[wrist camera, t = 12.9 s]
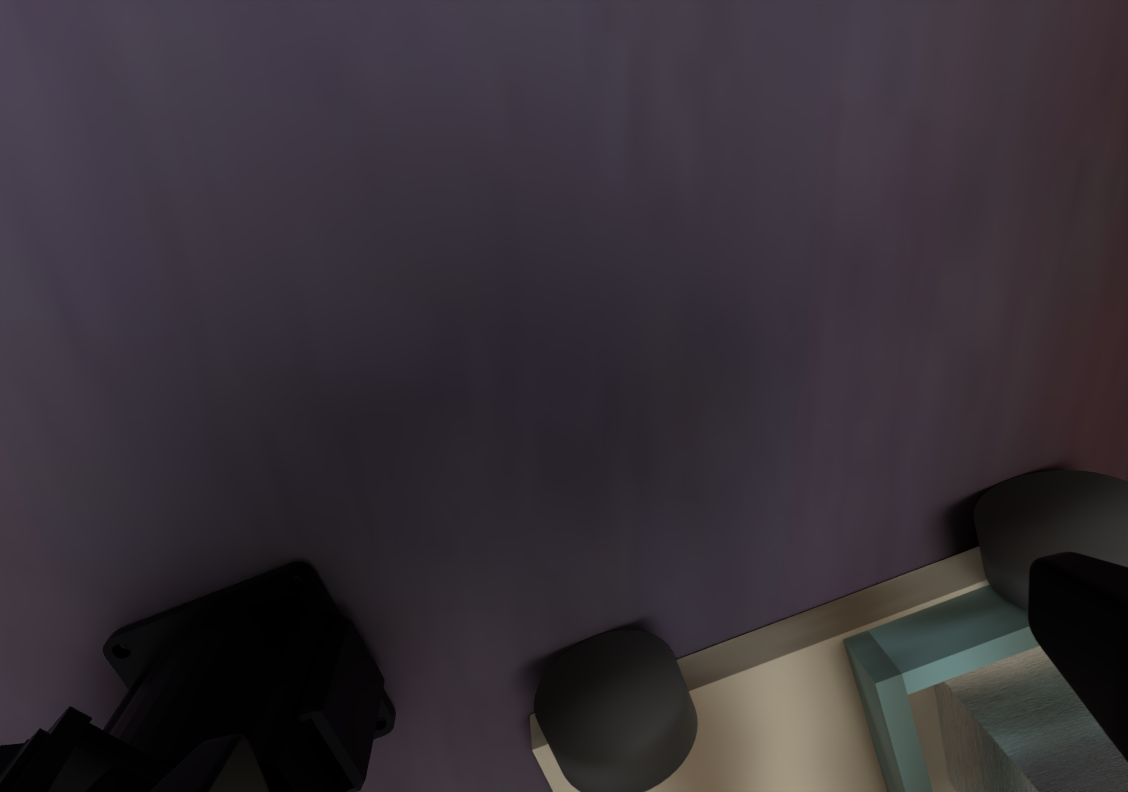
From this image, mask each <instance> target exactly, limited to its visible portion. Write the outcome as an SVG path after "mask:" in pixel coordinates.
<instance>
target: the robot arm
mask: <svg viewBox="0 0 1128 792" xmlns="http://www.w3.org/2000/svg"><path fill="white" fill-rule="evenodd" d="M296 576H297V577H300V578H302V579H303V580H304V581H305V583H304V584H296V583H294V582H293V581H292V580H291V577H296ZM1028 622H1029V627H1030V630H1031V632H1032V634H1033V636H1034V638H1035V640H1036V641H1037V643H1038V644H1039V646H1040V647H1041V648H1042V650H1043V651H1044V652H1045V654H1046V655H1047V656H1048V658H1049V659H1050V660H1051V662H1052V663H1053V664H1054V666H1055V667H1056V669H1057V670H1058V671H1059V673H1060V674H1061V675H1062V677H1063V678H1064V679H1065V681H1066V682H1067V683H1068V685H1069V686H1070V687H1071V689H1072V690H1073V691H1074V693H1075V694H1076V695H1077V697H1078V698H1079V699H1080V701H1081V702H1082V703H1083V705H1084V706H1085V707H1086V709H1087V710H1088V711H1089V713H1090V714H1091V715H1092V717H1093V718H1094V719H1095V721H1096V722H1097V724H1098V725H1099V726H1100V728H1101V729H1102V730H1103V732H1104V733H1105V734H1106V736H1107V737H1108V738H1109V740H1110V741H1111V742H1112V743H1113V745H1114V746H1115V747H1116V749H1117V750H1118V751H1119V752H1120V754H1121V755H1122V756H1123V757H1124V759H1125V760H1126V761H1127V762H1128V567H1125V566H1122V565H1118V564H1115V563H1111V562H1108V561H1104V560H1101V559H1097V558H1094V557H1090V556H1087V555H1083V554H1079V553H1076V552H1062V553H1057V554H1053V555H1048V556H1043V557H1039V558H1037V559H1035V560H1034V561H1033V562H1032V564H1031V566H1030V569H1029V592H1028ZM119 644H124V645H126V646H128V647H129V648H130V650H126V649H123V648H122V647H121V646H120V645H119ZM103 653H104V655H105V657H106V659H107V660H108V661H109V663H110V664H111V666H112V667H113V668H114V670H115V671H116V672H117V674H118V675H119V677H120V678H121V679H122V681H123V682H124V683H125V685H126V686H127V688H128V689H129V691H128V693H127V694H126V696H125V697H124V699H123V700H122V702H121V703H120V705H119V706H118V708H117V709H116V711H115V712H114V714H113V715H112V717H111V718H110V720H109V721H108V723H107V724H106V726H105V727H104V729H103V730H101V729H100V728H98V727H96V726H94V725H92V724H90V721H91V719H92V718H91V717H89V716H87V715H86V714H84V713H82V712H80V711H78V710H76V709H75V708H73V707H71V706H69V708H68V709H67V710H66V711H65V712H64V713H63V714H62V715H61V717H60V718H59V719H58V720H57V721H56V722H55V723H54V725H53V726H52V727H51V728H50V729H49V730H48V731H47V732H46V731H44V730H43V729H41V728H40V729H39V730H38V731H37V732H36V733H35V734H34V735H33V736H32V737H31V738H30V740H27V741H26V742H25V743H22V744H12V745H1V746H0V792H357V791H360V790H361V788H362V785H363V783H364V781H365V779H366V774H367V769H368V764H369V759H370V754H371V749H372V744H373V740H374V739H376V738H379V737H382V736H384V735H386V734H388V733H390V732H391V730H392V729H393V728H394V723H395V717H396V712H395V709H394V707H393V705H392V704H391V702H390V700H389V698H388V697H387V695H386V693H385V691H384V690H383V687H384V677H383V676H382V674H381V672H380V670H379V669H378V667H377V665H376V663H375V662H374V660H373V658H372V656H371V655H370V653H369V651H368V649H367V648H366V646H365V644H364V642H363V641H362V639H361V637H360V635H359V634H358V632H357V630H356V628H355V627H354V625H353V623H352V621H351V620H350V619H348V618H346V617H344V616H342V615H340V613H339V611H338V610H337V608H336V606H335V604H334V603H333V601H332V599H331V597H330V596H329V594H328V592H327V590H326V589H325V587H324V585H323V583H322V582H321V580H320V578H319V576H318V575H317V573H316V571H315V570H314V569H313V568H312V566H310V565H308V564H306V563H303V562H294V563H290V564H288V565H285V566H282V567H280V568H277V569H275V570H272V571H269V572H267V573H264V574H262V575H259V576H256V577H254V578H251V579H249V580H246V581H243V582H241V583H238V584H236V585H233V586H230V587H228V588H225V589H223V590H220V591H217V592H215V593H212V594H210V595H207V596H204V597H202V598H199V599H197V600H194V601H191V602H189V603H186V604H184V605H181V606H178V607H176V608H173V609H171V610H168V611H165V612H163V613H160V614H158V615H155V616H152V617H150V618H147V619H145V620H142V621H139V622H137V623H134V624H132V625H129V626H126V627H124V628H121V629H119V630H117V631H115V632H114V633H113V634H112V635H111V636H110V638H109V639H108V640H107V641H106V643H105V645H104V646H103ZM378 717H381V718H384V719H385V720H382V721H378V720H377V718H378Z"/></svg>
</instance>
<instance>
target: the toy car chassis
mask: <svg viewBox="0 0 1128 792" xmlns="http://www.w3.org/2000/svg"><path fill="white" fill-rule="evenodd" d="M974 522H975V527H976V532H977V537H978V542H979V546H978V547H976V548H973V549H970V550H968V551H965V552H962V553H960V554H957V555H954V556H952V557H949V558H946V559H944V560H941V561H938V562H936V563H933V564H930V565H928V566H925V567H922V568H920V569H917V570H914V571H912V572H909V573H906V574H904V575H901V576H898V577H896V578H893V579H890V580H888V581H885V582H882V583H880V584H877V585H875V586H872V587H869V588H867V589H864V590H861V591H859V592H856V593H853V594H851V595H848V596H845V597H843V598H840V599H837V600H835V601H832V602H829V603H827V604H824V605H821V606H819V607H816V608H813V609H811V610H808V611H805V612H803V613H800V614H797V615H795V616H792V617H789V618H787V619H784V620H781V621H779V622H776V623H773V624H771V625H768V626H765V627H763V628H760V629H757V630H755V631H752V632H749V633H747V634H744V635H741V636H739V637H736V638H733V639H731V640H728V641H725V642H723V643H720V644H717V645H715V646H712V647H709V648H707V649H704V650H701V651H699V652H696V653H693V654H691V655H688V656H685V657H683V658H680V659H678V660H676V658H675V655H674V653H673V651H672V650H671V648H670V647H669V646H668V645H667V644H666V643H665V642H664V641H663V640H662V639H660V638H659V637H657V636H655V635H653V634H650V633H647V632H644V631H638V630H617V631H611V632H607V633H603V634H600V635H596V636H594V637H591V638H589V639H587V640H585V641H583V642H581V643H579V644H577V645H576V646H574V647H572V648H571V649H569V650H568V651H567V652H565V653H564V654H563V655H562V656H561V657H560V658H558V659H557V660H556V661H555V662H554V663H553V665H552V666H551V667H550V668H549V669H548V671H547V672H546V673H545V675H544V677H543V678H542V680H541V682H540V684H539V686H538V689H537V692H536V695H535V701H534V711H535V713H534V714H531V715H530V727H531V741H532V751H533V753H534V755H535V757H536V759H537V761H538V763H539V765H540V767H541V769H542V771H543V773H544V775H545V777H546V779H547V780H548V782H549V784H550V786H551V788H552V790H553V792H957V791H956V790H955V788H954V787H953V786H952V784H951V783H950V781H949V779H948V773H947V766H946V760H945V754H944V747H943V741H942V734H941V728H940V722H939V715H938V709H937V703H936V696H935V690H934V685H935V684H938V683H941V682H943V681H946V680H949V679H951V678H954V677H957V676H960V675H962V674H965V673H968V672H970V671H973V670H976V669H978V668H981V667H984V666H986V665H989V664H992V663H995V662H997V661H1000V660H1003V659H1005V658H1008V657H1011V656H1013V655H1016V654H1019V653H1022V652H1024V651H1027V650H1030V649H1032V648H1035V647H1038V646H1039V644H1038V643H1037V641H1036V640H1035V638H1034V636H1033V634H1032V632H1031V630H1030V627H1029V622H1028V592H1029V569H1030V566H1031V564H1032V562H1033V561H1034V560H1035V559H1037V558H1039V557H1043V556H1048V555H1053V554H1057V553H1062V552H1076V553H1079V554H1083V555H1087V556H1090V557H1094V558H1097V559H1101V560H1104V561H1108V562H1111V563H1115V564H1118V565H1122V566H1125V567H1128V482H1127V481H1124V480H1121V479H1119V478H1116V477H1112V476H1109V475H1105V474H1100V473H1094V472H1087V471H1074V470H1056V471H1044V472H1037V473H1031V474H1026V475H1022V476H1018V477H1015V478H1012V479H1009V480H1007V481H1005V482H1002V483H1000V484H998V485H996V486H995V487H993V488H991V489H990V490H989V491H987V492H986V493H985V494H984V495H983V496H982V497H981V498H980V499H979V501H978V502H977V504H976V506H975V509H974Z"/></svg>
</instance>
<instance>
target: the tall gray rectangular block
mask: <svg viewBox="0 0 1128 792" xmlns="http://www.w3.org/2000/svg"><path fill="white" fill-rule="evenodd" d="M934 690H935V696H936V703H937V709H938V715H939V722H940V728H941V734H942V741H943V747H944V754H945V760H946V766H947V773H948V779H949V781H950V783H951V784H952V786H953V787H954V788H955V790H956V791H957V792H1128V762H1127V761H1126V760H1125V759H1124V757H1123V756H1122V755H1121V754H1120V752H1119V751H1118V750H1117V749H1116V747H1115V746H1114V745H1113V743H1112V742H1111V741H1110V740H1109V738H1108V737H1107V736H1106V734H1105V733H1104V732H1103V730H1102V729H1101V728H1100V726H1099V725H1098V724H1097V722H1096V721H1095V719H1094V718H1093V717H1092V715H1091V714H1090V713H1089V711H1088V710H1087V709H1086V707H1085V706H1084V705H1083V703H1082V702H1081V701H1080V699H1079V698H1078V697H1077V695H1076V694H1075V693H1074V691H1073V690H1072V689H1071V687H1070V686H1069V685H1068V683H1067V682H1066V681H1065V679H1064V678H1063V677H1062V675H1061V674H1060V673H1059V671H1058V670H1057V669H1056V667H1055V666H1054V664H1053V663H1052V662H1051V660H1050V659H1049V658H1048V656H1047V655H1046V654H1045V652H1044V651H1043V650H1042V648H1041V647H1040V646H1038V647H1035V648H1032V649H1030V650H1027V651H1024V652H1022V653H1019V654H1016V655H1013V656H1011V657H1008V658H1005V659H1003V660H1000V661H997V662H995V663H992V664H989V665H986V666H984V667H981V668H978V669H976V670H973V671H970V672H968V673H965V674H962V675H960V676H957V677H954V678H951V679H949V680H946V681H943V682H941V683H938V684H935V685H934Z"/></svg>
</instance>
